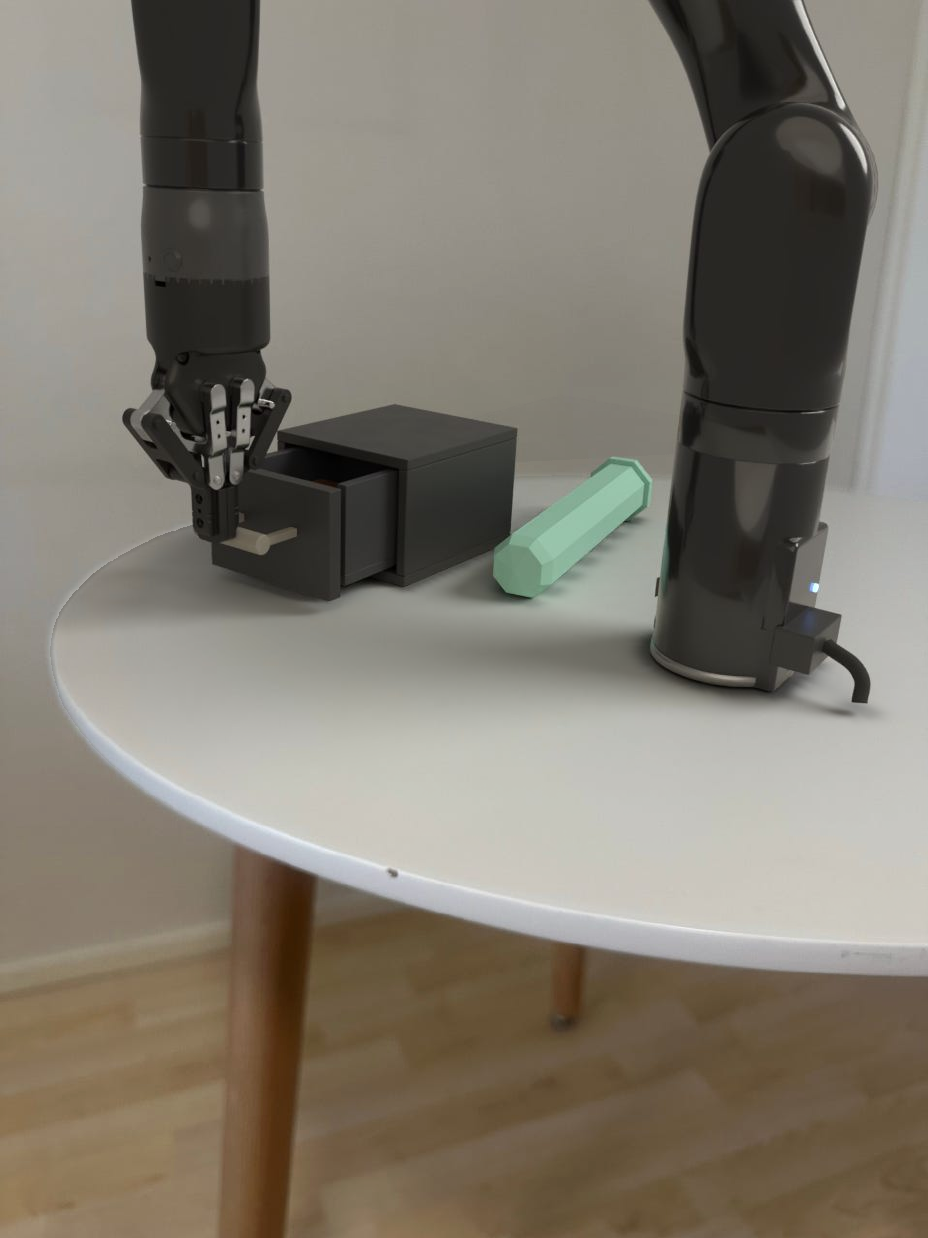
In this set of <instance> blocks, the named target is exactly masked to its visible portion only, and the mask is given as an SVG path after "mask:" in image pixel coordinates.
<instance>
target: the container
mask: <svg viewBox="0 0 928 1238" xmlns="http://www.w3.org/2000/svg"><path fill="white" fill-rule="evenodd" d="M652 488H653V478H651V476H650V475H649V473H647V471H646V470H645V468H644V467H643V465H642V464H641V463H640V462H639V460H637V459H633V458H627V457H621V456H620V457H619V456H611V457H609V458H608V459H606V460H605V461H604V462H603V463H602V464H600V465H599V466H598V467H597V468H596V469H594V470H592V472H591V473H590V478H588V479H587V480H585V481H584V482H582V483H581V484H580V485H578V486H577V487H576V488H574V489H573V490H571V491H570V492H569V493H567V494H565V495H564V496H563V497H562V498H560V499H559V500H557V501H556V502H555V503H553V504H552V505H550V506H549V507H548V508H546V509H545V510H543V511H542V512H541V513H539V514H538V515H536V516H535V517H534V518H532V519H531V520H530V521H528V522H527V523H525V524H524V525H522V526H520V527H519V528H518V529H517V530H515V531H514V532H512V533H511V535H510V536H509V537H508V538H506V539H505V540H504V541H503V542H501V543H500V544H499V545H498V546H496V547H495V548H493V550H494V551H493V569H492V576H493V578H494V579H495V580H496V582H497V583H498V584H499V586H500V587H501V588H502V589H503V590H504V592H505V593H507V594H511V595H516V596H522V597H527V598H532V599H534V598H535V597H536V596H538V595H539V594H540V593H542V592H544V591H545V590H546V589H547V588H549V587H550V586H551V585H552V584H553V583H555V582H556V581H557V580H558V579H559V578H560V577H562V576H563V575H564V574H565V573H566V572H568V571H569V570H570V569H571V568H572V567H573V566H574V565H575V564H577V562H579V561H581V559H583V557H584V556H586V555H587V554H588V553H589V552H590V551H591V550H593V549H594V548H595V547H596V546H597V545H599V543H600V542H602V541H603V540H604V539H605V538H607V537H608V536H609V535H610V534H611V533H612V532H613V531H615V529H617V528H618V527H619V526H621V524H622V523H623V522H629V521H631V520H632V519H634V518H635V517H636V516H637V515H639V514H640V513H642V512H643V511H644V510H646V509H647V508H648V507H649V506H650V505H651V499H652Z"/></svg>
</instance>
